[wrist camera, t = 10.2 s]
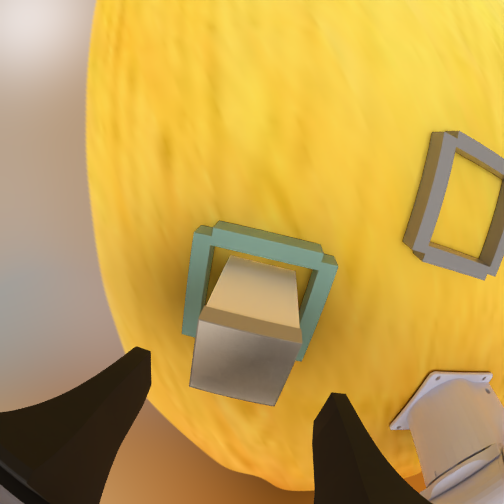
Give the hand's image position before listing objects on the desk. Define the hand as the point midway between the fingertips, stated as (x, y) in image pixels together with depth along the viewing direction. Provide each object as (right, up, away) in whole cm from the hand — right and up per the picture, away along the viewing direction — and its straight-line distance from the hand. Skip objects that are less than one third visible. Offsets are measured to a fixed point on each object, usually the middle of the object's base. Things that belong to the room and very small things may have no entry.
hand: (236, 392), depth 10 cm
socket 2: (+14, +8, +4) cm, 17 cm away
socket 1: (+1, +3, +8) cm, 8 cm away
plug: (+1, +3, +8) cm, 8 cm away
